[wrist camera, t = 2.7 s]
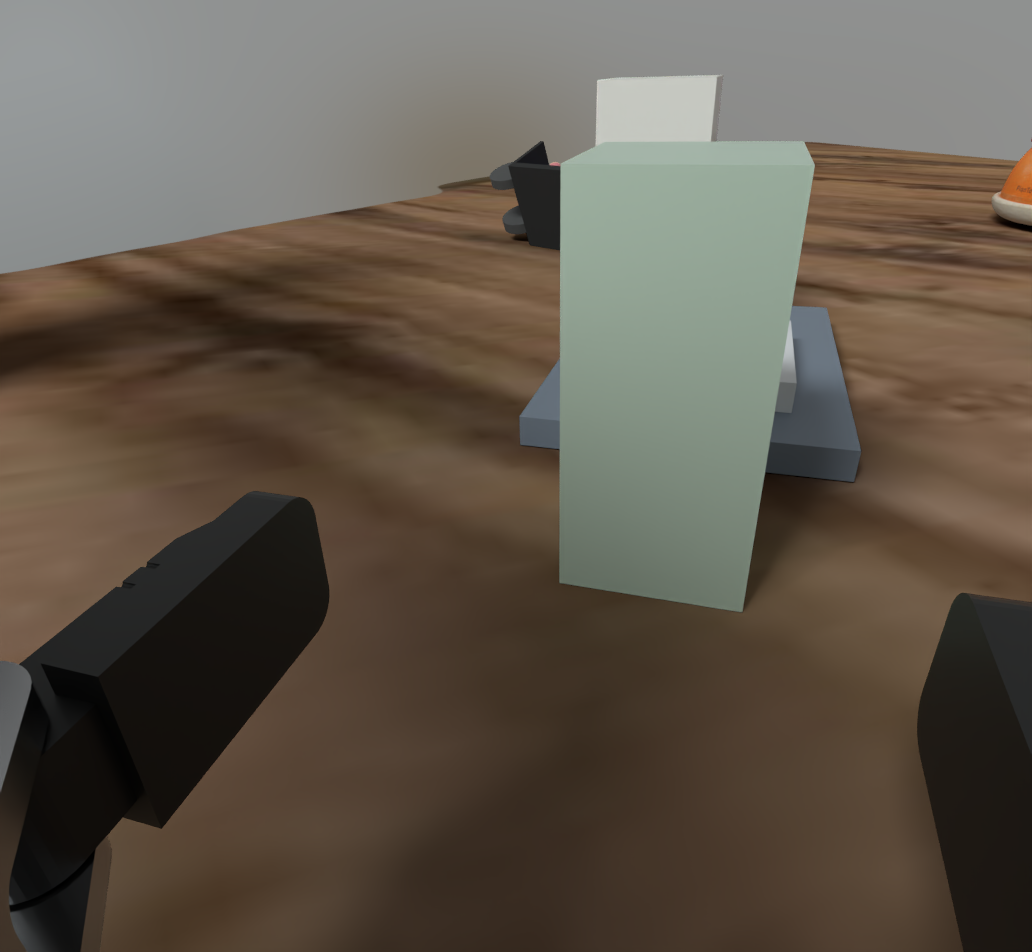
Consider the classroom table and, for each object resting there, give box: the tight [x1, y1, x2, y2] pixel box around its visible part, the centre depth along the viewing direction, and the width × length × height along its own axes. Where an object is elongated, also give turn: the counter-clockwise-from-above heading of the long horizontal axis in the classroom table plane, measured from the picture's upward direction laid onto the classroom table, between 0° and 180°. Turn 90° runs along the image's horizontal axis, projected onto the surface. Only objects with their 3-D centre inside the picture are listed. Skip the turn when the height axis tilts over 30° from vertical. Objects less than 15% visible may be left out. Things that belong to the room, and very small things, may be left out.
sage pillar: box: [559, 141, 815, 612], centre depth 19 cm, size 5×5×11 cm
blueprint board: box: [519, 306, 861, 482], centre depth 33 cm, size 12×17×2 cm
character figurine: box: [490, 141, 561, 250], centre depth 56 cm, size 8×7×15 cm
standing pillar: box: [596, 75, 723, 146], centre depth 35 cm, size 5×5×11 cm
